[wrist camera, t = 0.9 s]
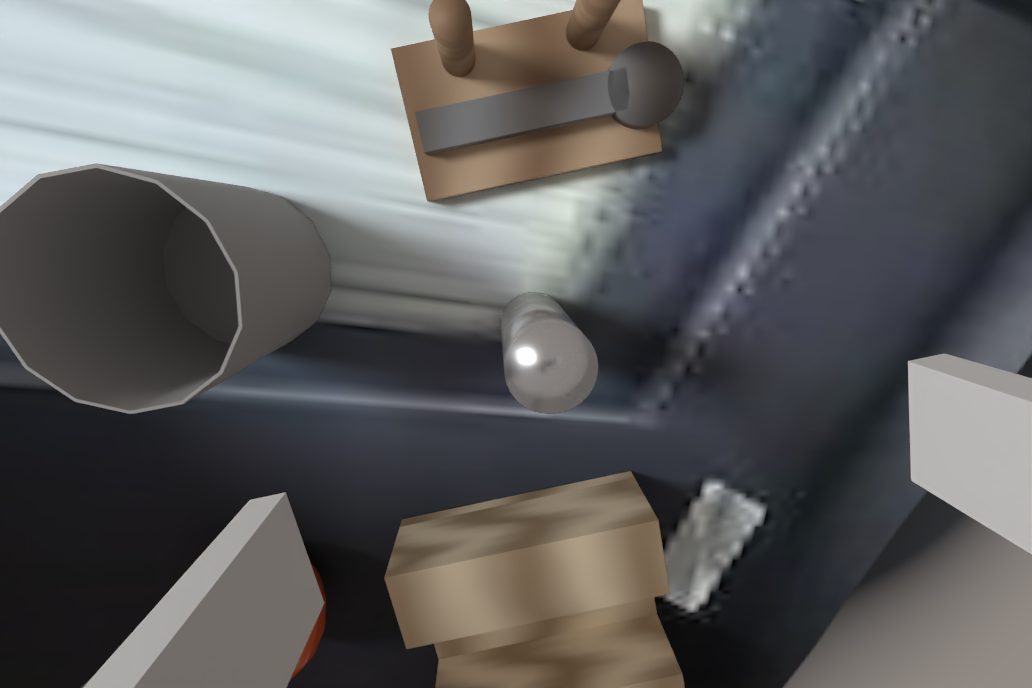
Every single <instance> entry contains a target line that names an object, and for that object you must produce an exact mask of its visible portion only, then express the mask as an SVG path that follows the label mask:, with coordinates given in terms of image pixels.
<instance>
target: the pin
mask: <svg viewBox="0 0 1032 688" xmlns="http://www.w3.org/2000/svg"><path fill="white" fill-rule="evenodd" d="M500 326H501V339H502V351H503V363H504V374H505V380H506V383H507V386H508V388H509V390H510V392H511V394H512V395H513V396H514V398H515V399H516V400H517V401H518V402H519V403H520V404H522V405H523V406H525V407H526V408H528V409H530V410H532V411H535V412H539V413H545V414H555V413H561V412H565V411H567V410H570V409H572V408H574V407H576V406H577V405H579V404H580V403H581V402H582V401H583V400H584V399H585V398H586V397H587V396H588V395H589V394H590V392H591V391H592V389H593V387H594V385H595V382H596V379H597V375H598V359H597V355H596V352H595V350H594V348H593V346H592V344H591V342H590V341H589V340H588V339H587V337H586V336H585V335H584V334H583V333H582V331H581V330H580V329H579V328H578V327H577V325H576V324H575V323H574V322H573V321H572V320H571V318H570V317H569V316H568V315H567V314H566V312H565V311H564V310H563V309H562V308H561V306H560V305H559V304H558V303H557V302H556V301H555V300H554V299H553V298H551V297H550V296H548V295H546V294H543V293H539V292H528V293H524V294H521V295H519V296H517V297H515V298H514V299H513V300H511V301H510V302H509V303H508V305H507V306H506V307H505V309H504V311H503V313H502V317H501V322H500Z"/></svg>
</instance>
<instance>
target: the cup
mask: <svg viewBox="0 0 1032 688" xmlns="http://www.w3.org/2000/svg"><path fill="white" fill-rule="evenodd" d="M330 292H331V272H330V254H329V253H328V251H327V249H326V247H325V245H324V243H323V241H322V239H321V237H320V235H319V233H318V231H317V229H316V227H315V225H314V223H313V221H311V220H310V219H309V218H308V217H306V216H305V215H304V214H303V213H302V212H300V211H299V210H298V209H297V208H295V207H294V206H293V205H292V204H290V203H289V202H288V201H287V200H286V199H284V198H283V197H281V196H278V195H274V194H270V193H267V192H263V191H259V190H256V189H252V188H248V187H245V186H238V185H232V184H225V183H219V182H212V181H206V180H199V179H193V178H186V177H180V176H174V175H167V174H161V173H154V172H148V171H141V170H135V169H128V168H122V167H115V166H109V165H102V164H91V165H86V166H80V167H75V168H70V169H64V170H59V171H54V172H49V173H43V174H38V175H37V176H36V177H34V178H33V179H32V180H31V181H30V182H29V183H27V184H26V185H25V186H24V187H23V188H22V189H20V190H19V191H18V192H17V193H16V194H15V195H13V196H12V197H11V198H10V199H9V200H8V201H7V202H5V203H4V204H3V205H2V206H1V207H0V334H1V335H2V336H3V338H4V339H5V341H6V342H7V344H8V345H9V346H10V348H11V349H12V351H13V352H14V354H15V355H16V356H17V358H18V359H19V361H20V362H21V364H22V365H23V366H24V368H25V369H26V370H28V371H29V372H31V373H32V374H34V375H35V376H37V377H38V378H40V379H41V380H43V381H44V382H46V383H47V384H49V385H50V386H52V387H53V388H55V389H56V390H58V391H59V392H61V393H62V394H64V395H65V396H67V397H68V398H70V399H71V400H73V401H74V402H78V403H83V404H87V405H92V406H96V407H101V408H105V409H110V410H114V411H119V412H123V413H128V414H134V413H139V412H145V411H150V410H155V409H160V408H166V407H171V406H176V405H181V404H184V403H186V402H187V401H189V400H191V399H193V398H194V397H196V396H198V395H199V394H201V393H203V392H205V391H206V390H208V389H210V388H212V387H213V386H215V385H217V384H218V383H220V382H222V381H224V380H225V379H227V378H229V377H230V376H232V375H234V374H236V373H237V372H239V371H241V370H242V369H244V368H246V367H248V366H249V365H251V364H253V363H255V362H256V361H258V360H260V359H261V358H263V357H265V356H267V355H268V354H270V353H272V352H273V351H275V350H277V349H279V348H280V347H282V346H284V345H285V344H287V343H289V342H291V341H292V340H293V339H295V338H296V337H297V336H299V335H300V334H301V333H302V332H304V331H305V330H306V329H308V328H309V327H310V326H312V325H313V324H314V323H316V322H317V321H318V318H319V316H320V314H321V312H322V310H323V308H324V305H325V303H326V301H327V299H328V297H329V294H330Z"/></svg>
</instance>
